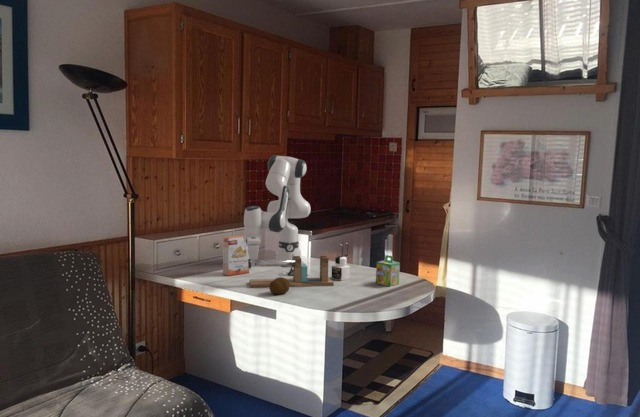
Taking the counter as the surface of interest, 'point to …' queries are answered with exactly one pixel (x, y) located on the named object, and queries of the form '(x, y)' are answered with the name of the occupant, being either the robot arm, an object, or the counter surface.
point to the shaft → (272, 263)
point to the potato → (279, 286)
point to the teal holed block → (303, 272)
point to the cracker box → (235, 256)
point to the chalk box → (387, 272)
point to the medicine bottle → (340, 269)
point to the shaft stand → (297, 276)
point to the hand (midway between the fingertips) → (252, 265)
